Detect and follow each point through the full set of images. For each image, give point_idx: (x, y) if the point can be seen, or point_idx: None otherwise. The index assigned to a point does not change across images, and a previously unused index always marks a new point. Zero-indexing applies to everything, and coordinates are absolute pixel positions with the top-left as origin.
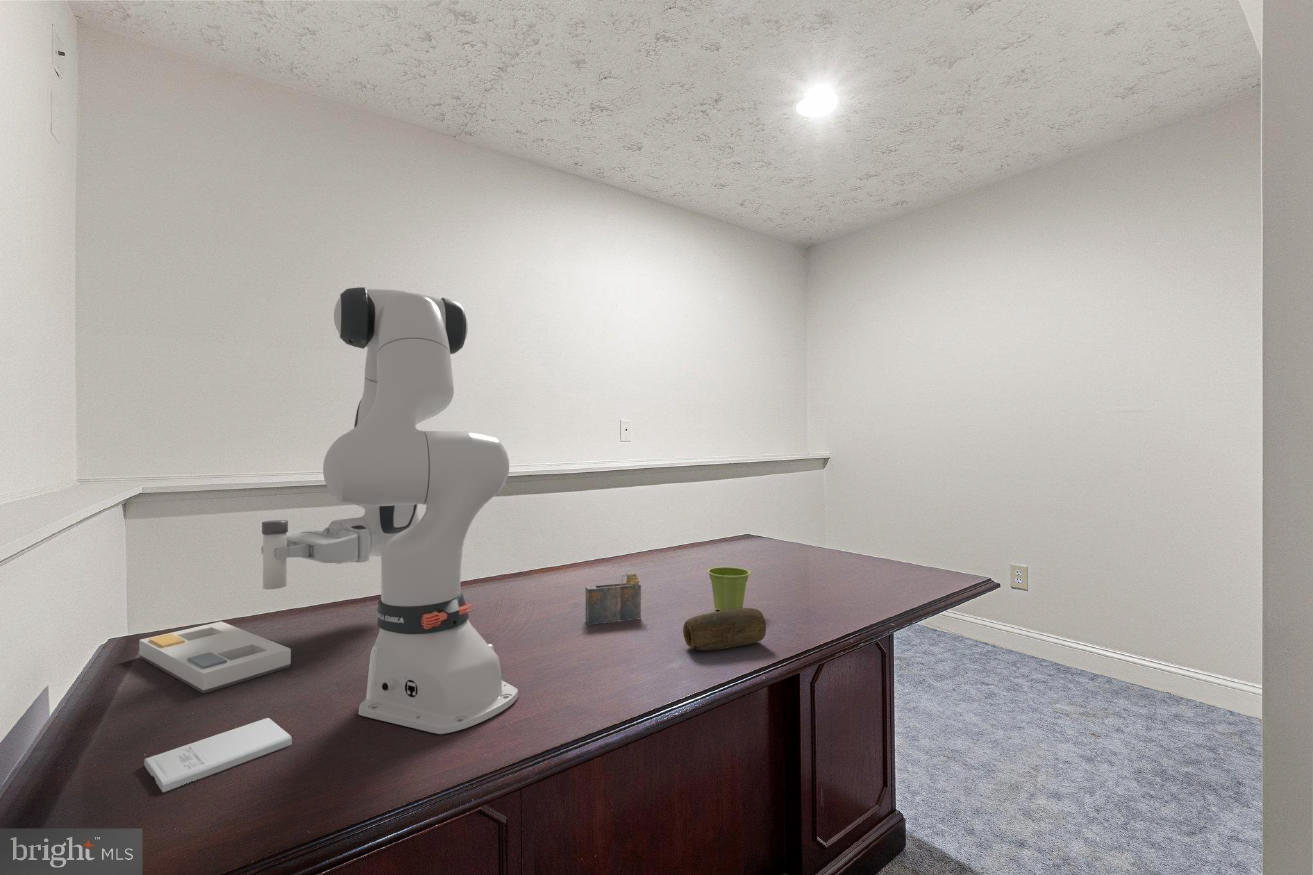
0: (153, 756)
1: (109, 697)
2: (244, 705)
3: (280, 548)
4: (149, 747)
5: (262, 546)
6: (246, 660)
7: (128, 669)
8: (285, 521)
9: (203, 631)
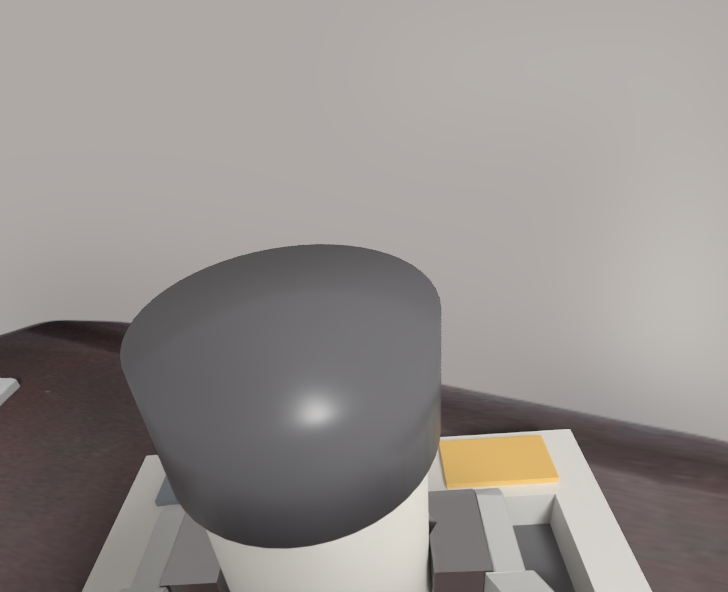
0: (4, 383)
1: None
2: (8, 517)
3: (176, 520)
4: (59, 396)
5: (489, 489)
6: (112, 542)
7: None
8: (138, 369)
9: (583, 573)
